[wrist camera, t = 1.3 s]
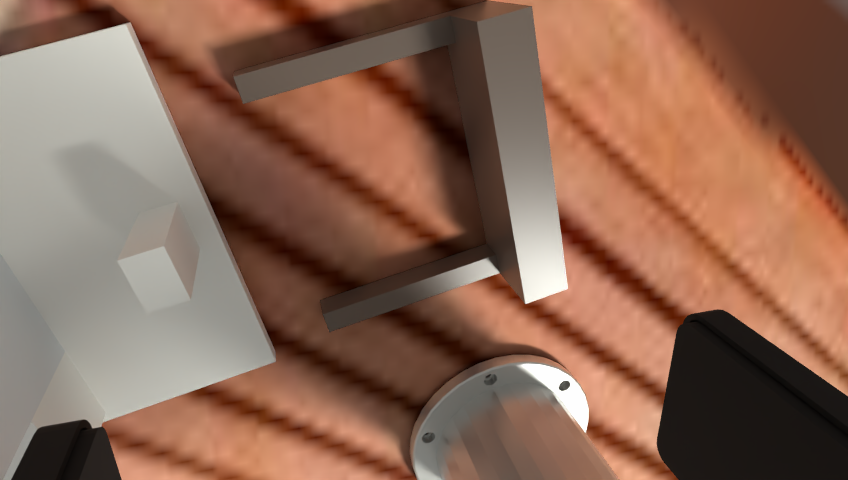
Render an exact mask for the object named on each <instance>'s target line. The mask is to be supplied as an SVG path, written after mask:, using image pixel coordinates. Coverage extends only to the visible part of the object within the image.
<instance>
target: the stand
mask: <svg viewBox="0 0 848 480" xmlns="http://www.w3.org/2000/svg"><path fill="white" fill-rule="evenodd" d="M274 362H276V353H275V349H274V347H273V345H272V342H271V340H270V338H269V336H268V333H267V331H266V329H265V327H264V324H263V322H262V320H261V317H260V315H259V313H258V311H257V308H256V306H255V304H254V302H253V299H252V297H251V295H250V292H249V290H248V288H247V286H246V283H245V281H244V279H243V277H242V274H241V272H240V270H239V268H238V265H237V263H236V261H235V258H234V256H233V254H232V252H231V249H230V247H229V245H228V243H227V240H226V238H225V236H224V234H223V231H222V229H221V227H220V224H219V222H218V220H217V218H216V215H215V213H214V211H213V209H212V206H211V204H210V202H209V200H208V197H207V195H206V193H205V190H204V188H203V186H202V184H201V181H200V179H199V177H198V175H197V172H196V170H195V168H194V165H193V163H192V161H191V159H190V156H189V154H188V152H187V150H186V147H185V145H184V143H183V141H182V138H181V136H180V134H179V131H178V129H177V127H176V125H175V122H174V120H173V118H172V116H171V113H170V111H169V109H168V107H167V104H166V102H165V100H164V97H163V95H162V93H161V91H160V88H159V86H158V84H157V82H156V79H155V77H154V75H153V73H152V70H151V68H150V66H149V63H148V61H147V59H146V57H145V54H144V52H143V50H142V48H141V45H140V43H139V41H138V38H137V36H136V34H135V32H134V29H133V27H132V25H131V23H130V22H129V23H125V24H121V25H118V26H114V27H110V28H106V29H102V30H98V31H95V32H91V33H87V34H83V35H79V36H75V37H72V38H68V39H64V40H60V41H56V42H53V43H49V44H45V45H41V46H37V47H33V48H30V49H26V50H22V51H18V52H14V53H10V54H7V55H3V56H0V480H11V479H12V477H13V475H14V473H15V471H16V469H17V467H18V465H19V463H20V461H21V459H22V457H23V455H24V453H25V451H26V449H27V447H28V445H29V443H30V441H31V439H32V437H33V435H34V433H35V432H36V431H37V429H38V428H40V427H43V426H48V425H54V424H60V423H66V422H71V421H77V420H83V419H84V420H87V421H88V422H89V423H90V424H91V426H92V428H98V427H101V426H102V423H103V422H105V421H108V420H111V419H114V418H117V417H120V416H123V415H125V414H128V413H131V412H134V411H137V410H140V409H143V408H145V407H148V406H151V405H154V404H157V403H160V402H162V401H165V400H168V399H171V398H174V397H177V396H180V395H182V394H185V393H188V392H191V391H194V390H197V389H200V388H202V387H205V386H208V385H211V384H214V383H217V382H219V381H222V380H225V379H228V378H231V377H234V376H237V375H239V374H242V373H245V372H248V371H251V370H254V369H257V368H259V367H262V366H265V365H268V364H271V363H274Z"/></svg>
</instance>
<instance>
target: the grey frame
mask: <svg viewBox="0 0 848 480" xmlns="http://www.w3.org/2000/svg"><path fill="white" fill-rule="evenodd" d="M446 45H447V46H448V51H449V56H450V61H451V66H452V71H453V76H454V81H455V86H456V91H457V96H458V101H459V106H460V111H461V116H462V122H463V127H464V132H465V137H466V142H467V147H468V152H469V157H470V162H471V167H472V172H473V177H474V182H475V187H476V192H477V197H478V202H479V207H480V212H481V217H482V222H483V227H484V232H485V237H486V242H487V244H484V245H481V246H478V247H475V248H473V249H470V250H467V251H464V252H461V253H458V254H455V255H452V256H449V257H446V258H443V259H440V260H437V261H434V262H431V263H428V264H426V265H423V266H420V267H417V268H414V269H411V270H408V271H405V272H402V273H399V274H396V275H393V276H390V277H387V278H384V279H381V280H378V281H376V282H373V283H370V284H367V285H364V286H361V287H358V288H355V289H352V290H349V291H346V292H343V293H340V294H337V295H334V296H331V297H329V298H326V299H323V300H320V303H321V308H322V313H323V316H324V319H325V322H326V324H327V327H328V329H329V332H331V331H334V330H337V329H340V328H343V327H346V326H349V325H351V324H354V323H357V322H360V321H363V320H366V319H369V318H372V317H374V316H377V315H380V314H383V313H386V312H389V311H392V310H395V309H397V308H400V307H403V306H406V305H409V304H412V303H415V302H417V301H420V300H423V299H426V298H429V297H432V296H435V295H438V294H440V293H443V292H446V291H449V290H452V289H455V288H458V287H460V286H463V285H466V284H469V283H472V282H475V281H478V280H481V279H483V278H486V277H489V276H492V275H495V274H498V273H500V274H501V275H502V276H503V277H504V279H505V280H506V281H507V282H508V283H509V285H510V286H511V287H512V288H513V289H514V291H515V292H516V293H517V294H518V296H519V297H520V298H521V299H522V300H523V302H524V303H525V304H527V303H530V302H533V301H535V300H538V299H541V298H544V297H546V296H549V295H552V294H555V293H558V292H560V291H563V290H566V289H568V285H567V277H566V270H565V262H564V254H563V246H562V238H561V230H560V223H559V215H558V207H557V199H556V191H555V184H554V176H553V168H552V160H551V152H550V144H549V137H548V129H547V121H546V113H545V105H544V98H543V90H542V82H541V74H540V66H539V58H538V51H537V43H536V35H535V27H534V19H533V11H532V6H526V5H518V4H511V3H503V2H496V1H484V2H480V3H477V4H473V5H470V6H466V7H463V8H459V9H455V10H452V11H448V12H445V13H441V14H438V15H434V16H430V17H427V18H423V19H420V20H416V21H413V22H409V23H405V24H402V25H398V26H395V27H391V28H387V29H384V30H380V31H377V32H373V33H370V34H366V35H362V36H359V37H355V38H352V39H348V40H345V41H341V42H337V43H334V44H330V45H327V46H323V47H319V48H316V49H312V50H309V51H305V52H302V53H298V54H294V55H291V56H287V57H284V58H280V59H277V60H273V61H269V62H266V63H262V64H259V65H255V66H252V67H248V68H244V69H241V70H237V71H234V75H233V78H234V80H235V83H236V86H237V88H238V91H239V93H240V96H241V99H242V101H243V104H244V103H248V102H251V101H255V100H258V99H262V98H265V97H269V96H272V95H276V94H279V93H282V92H286V91H289V90H293V89H296V88H300V87H303V86H307V85H310V84H314V83H317V82H321V81H324V80H328V79H331V78H335V77H338V76H342V75H345V74H349V73H352V72H355V71H359V70H362V69H366V68H369V67H373V66H376V65H380V64H383V63H387V62H390V61H394V60H397V59H401V58H404V57H408V56H411V55H415V54H418V53H422V52H425V51H428V50H432V49H435V48H439V47H442V46H446Z"/></svg>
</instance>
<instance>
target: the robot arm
mask: <svg viewBox="0 0 848 480" xmlns="http://www.w3.org/2000/svg"><path fill="white" fill-rule="evenodd" d="M588 420H589V407H588V403H587V399H586V395H585V393H584V391H583V389H582V388H581V386H580V384H579V383H578V382H577V380H576V379H575V378H574V377H573V376H572V374H571V373H570V372H569V371H568V370H567V369H565V368H564V367H563V366H561V365H560V364H559V363H556V362H554V361H552V360H550V359H547V358H544V357H539V356H535V355H508V356H502V357H496V358H493V359H490V360H487V361H484V362H481V363H478V364H476V365H474V366H472V367H470V368H468V369H466V370H464V371H462V372H461V373H459V374H458V375H457V376H455V377H454V378H452V379H451V380H449V381H448V382H447V383H445V384H444V385H443V386H442V387H441V388H440V389H439V390H438V391H437V392H436V393H435V394H434V395H433V396H432V397H431V399H430V400H429V401H428V403H427V404H426V405H425V406H424V408H423V409H422V411H421V413H420V415H419V417H418V419H417V421H416V422H415V425H414V428H413V432H412V435H411V439H410V456H411V462H412V466H413V469H414V472H415V474H416V477H417V480H619V478H618V477H617V475H616V474H615V473H614V471H613V470H612V469H611V467H610V466H609V464H608V463H607V462H606V460H605V459H604V458H603V456H602V455H601V453H600V452H599V451H598V449H597V448H596V447H595V445H594V444H593V442H592V441H591V440H590V438H589V437H588V436H587V434H586V429H587V425H588ZM657 448H658V451H659V454H660V456H661V458H662V460H663V461H664V463H665V464H666V465H667V466H668V468H669V469H670V470H671V471H672V472H673V473H674V475H675V476H676V477H677V478H678V479H679V480H848V396H846V395H845V394H844V393H842V392H841V391H839V390H838V389H836V388H835V387H834V386H832V385H831V384H829V383H828V382H826V381H825V380H824V379H822V378H821V377H819V376H818V375H816V374H815V373H814V372H812V371H811V370H809V369H808V368H806V367H805V366H804V365H802V364H801V363H799V362H798V361H796V360H795V359H794V358H792V357H791V356H789V355H788V354H786V353H785V352H784V351H782V350H781V349H779V348H778V347H776V346H775V345H774V344H772V343H771V342H769V341H768V340H766V339H765V338H764V337H762V336H761V335H759V334H758V333H757V332H755V331H754V330H752V329H751V328H749V327H748V326H747V325H745V324H744V323H742V322H741V321H739V320H738V319H737V318H735V317H734V316H732V315H731V314H729V313H728V312H726V311H724V310H712V311H706V312H700V313H695V314H691V315H688V316H687V317H686V318H685V320H684V322H683V324H682V325H680V326H679V328H678V330H677V333H676V339H675V344H674V350H673V355H672V361H671V366H670V372H669V377H668V382H667V388H666V393H665V399H664V404H663V410H662V415H661V421H660V426H659V432H658V437H657ZM11 480H121V477H120V474H119V470H118V467H117V464H116V461H115V458H114V454H113V451H112V448H111V445H110V442H109V439H108V435H107V433H106V431H105V429H104V428H103V427H98V428H92V426H91V424H90V423H89V422H88V421H87V420H84V419H83V420H77V421H71V422H66V423H60V424H54V425H48V426H43V427H40V428H38V429H37V431H36V432H35V433H34V435H33V437H32V439H31V441H30V443H29V445H28V447H27V449H26V451H25V453H24V455H23V457H22V459H21V461H20V463H19V465H18V467H17V469H16V471H15V473H14V475H13V477H12V479H11Z"/></svg>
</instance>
